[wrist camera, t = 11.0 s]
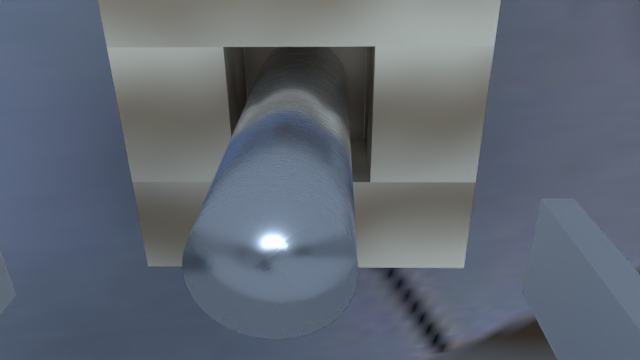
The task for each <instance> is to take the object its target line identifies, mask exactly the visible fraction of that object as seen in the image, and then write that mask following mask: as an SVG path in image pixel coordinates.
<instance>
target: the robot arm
mask: <svg viewBox="0 0 640 360" xmlns="http://www.w3.org/2000/svg"><path fill="white" fill-rule="evenodd" d="M523 294H524V296H525V298H526V300H527V302H528V304H529V306H530V308H531V310H532V311H533V313H534V315H535V317H536V319H537V321H538V323H539V325H540V327H541V329H542V331H543V332H544V334H545V336H546V338H547V340H548V342H549V344H550V346H551V348H552V350H553V352H554V354H555V356H556V357H557V359H558V360H640V275H639V273H638V272H637V271H636V270H635V269H634V268H633V266H632V265H631V264H630V263H629V262H628V261H627V260H626V258H625V257H624V256H623V255H622V254H621V253H620V251H619V250H618V249H617V248H616V247H615V246H614V244H613V243H612V242H611V241H610V240H609V239H608V237H607V236H606V235H605V234H604V233H603V232H602V231H601V229H600V228H599V227H598V226H597V225H596V224H595V222H594V221H593V220H592V219H591V218H590V217H589V215H588V214H587V213H586V212H585V211H584V210H583V209H582V207H581V206H580V205H579V204H578V203H577V202H576V200H575V199H574V198H572V199H541V202H540V207H539V212H538V217H537V222H536V227H535V232H534V237H533V242H532V247H531V252H530V257H529V262H528V267H527V272H526V277H525V282H524V287H523ZM15 296H16V294H15V291H14V287H13V284H12V281H11V278H10V275H9V272H8V269H7V266H6V263H5V260H4V257H3V254H2V251H1V248H0V315H1V314H2V313H3V311H4V310H5V309H6V308H7V306H8V305H9V304H10V302H11V301H12V300H13V299H14V297H15Z"/></svg>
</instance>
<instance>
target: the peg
mask: <svg viewBox="0 0 640 360" xmlns="http://www.w3.org/2000/svg"><path fill="white" fill-rule="evenodd" d="M182 269H183V276H184V280H185V283H186V286H187V288H188V291H189V292H190V294H191V296H192V298H193V299H194V301H195V302H196V303H197V305H198V306H199V307H200V308H201V309H202V310H203V311H204V312H205V313H206V314H207V315H208V316H209V317H211V318H212V319H213V320H215V321H216V322H218V323H219V324H221V325H222V326H224V327H226V328H228V329H230V330H232V331H235V332H238V333H240V334H243V335H247V336H251V337H256V338H262V339H289V338H296V337H300V336H304V335H307V334H310V333H313V332H315V331H317V330H319V329H321V328H323V327H325V326H327V325H328V324H330V323H331V322H333V321H334V320H335V319H336V318H337V317H338V316H340V315H341V313H342V312H343V311H344V310H345V309H346V308H347V306H348V305H349V303H350V302H351V300H352V298H353V295H354V293H355V290H356V287H357V283H358V257H357V241H356V225H355V209H354V193H353V177H352V161H351V145H350V128H349V112H348V96H347V80H346V74H345V70H344V67H343V65H342V63H341V62H340V60H339V59H338V57H337V56H336V55H335V54H334V53H333V52H332V51H331V50H330V49H328V48H327V47H277V48H276V49H274V50H273V51H272V52H271V53H270V54H269V55H268V57H267V58H266V59H265V61H264V63H263V65H262V67H261V70H260V72H259V74H258V77H257V79H256V81H255V84H254V86H253V88H252V91H251V93H250V95H249V98H248V100H247V102H246V105H245V107H244V109H243V112H242V114H241V116H240V119H239V121H238V123H237V126H236V128H235V130H234V133H233V135H232V137H231V140H230V142H229V144H228V146H227V149H226V151H225V153H224V156H223V158H222V160H221V163H220V165H219V167H218V170H217V172H216V174H215V177H214V179H213V181H212V184H211V186H210V188H209V191H208V193H207V195H206V198H205V200H204V202H203V205H202V207H201V209H200V212H199V214H198V216H197V219H196V221H195V223H194V226H193V228H192V230H191V233H190V235H189V237H188V240H187V242H186V244H185V248H184V252H183V258H182Z"/></svg>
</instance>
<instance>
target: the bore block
mask: <svg viewBox="0 0 640 360" xmlns="http://www.w3.org/2000/svg"><path fill="white" fill-rule="evenodd" d="M500 2H501V0H98V3H99V8H100V14H101V19H102V24H103V29H104V35H105V40H106V45H107V51H108V56H109V61H110V67H111V72H112V77H113V83H114V88H115V93H116V98H117V104H118V109H119V114H120V120H121V125H122V130H123V136H124V141H125V146H126V152H127V157H128V162H129V168H130V173H131V178H132V183H133V189H134V194H135V199H136V205H137V210H138V215H139V221H140V226H141V231H142V237H143V242H144V247H145V253H146V258H147V263H148V266H171V267H182V258H183V252H184V248H185V244H186V242H187V240H188V237H189V235H190V233H191V230H192V228H193V226H194V223H195V221H196V219H197V216H198V214H199V212H200V209H201V207H202V205H203V202H204V200H205V198H206V195H207V193H208V191H209V188H210V186H211V184H212V181H213V179H214V177H215V174H216V172H217V170H218V167H219V165H220V163H221V160H222V158H223V156H224V153H225V151H226V149H227V146H228V144H229V142H230V140H231V137H232V135H233V133H234V130H235V128H236V126H237V123H238V121H239V119H240V116H241V114H242V112H243V109H244V107H245V105H246V102H247V100H248V98H249V95H250V93H251V91H252V88H253V86H254V84H255V81H256V79H257V77H258V74H259V72H260V70H261V67H262V65H263V63H264V61H265V59H266V58H267V57H268V55H269V54H270V53H271V52H272V51H273V50H274V49H276V48H277V47H327V48H328V49H330V50H331V51H332V52H333V53H334V54H335V55H336V56H337V57H338V59H339V60H340V62H341V63H342V65H343V67H344V70H345V74H346V80H347V96H348V112H349V128H350V145H351V161H352V177H353V193H354V209H355V225H356V241H357V257H358V267H360V268H464V263H465V255H466V248H467V241H468V234H469V226H470V219H471V212H472V205H473V197H474V190H475V183H476V176H477V168H478V161H479V154H480V147H481V139H482V132H483V125H484V118H485V110H486V103H487V96H488V89H489V81H490V74H491V67H492V60H493V52H494V45H495V38H496V31H497V24H498V16H499V9H500Z"/></svg>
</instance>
